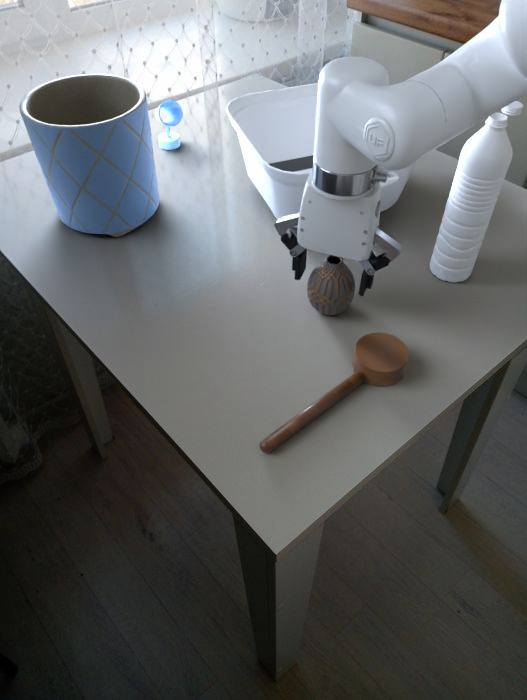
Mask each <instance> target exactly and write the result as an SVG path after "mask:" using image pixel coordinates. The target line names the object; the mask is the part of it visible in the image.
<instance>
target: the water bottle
mask: <svg viewBox="0 0 527 700" xmlns="http://www.w3.org/2000/svg"><path fill="white" fill-rule="evenodd" d="M523 108H524V104H523V103H522V102H520V101H518V100H516V101H514V102H513V103H511V104H509V105H507V106H506V107H504V108H502V109H501V110H500V111H501V112H496V113H494V114H492V115H490V116H489V117H487V118H486V119H485V121H484V122H485V125H484V126H482V127H481V128H479V130H478V131H477V132H475V133H474V134H473V135H472V136H471V137H469V138H468V139H467V140H466V142H465V143H464V145H463V146H462V148H461V150H460V153H459V158H458V163H457V166H456V170H455V172H454V177H453V181H452V183H451V187H450V191H449V194H448V195H449V196H448V198H447V200H446V203H445V208H444V209H445V210H444V212H443V215H442V219H441V223H440V224H439V225H440V226H439V229H438V231H439V232H438V234H437V236H436V242H435V244H434V247H433V252H432V254H431V257H430V261H429V270H430V272H431V274H432V275H434V276H435V277H436V278H437V279H439V280H441V281H443V282H445V281H446V282H448V283H458V282H460V283H462V282H464V281H466V280H468V279H469V277H471V275H472V273H473V269H474V267H475V263H476V260H477V258H478V255H479V252H480V249H481V247H482V244H483V240H484V238H485V235H486V232H487V230H488V227H489V225H490V221H491V219H492V216H493V213H494V210H495V207H496V204H497V201H498V198H499V195H500V193H501V190H502V187H503V185H504V181H505V179H506V176H507V173H508V170H509V168H510V166H511V163H512V161H513V160H512V159H513V154H514V153H513V152H514V151H513V147H512V143H511V140H510V138H509V135H508V133H507V129H506V128H507V127H508V125H509V124H508V120H509V119H508V117H509V116H519V115H521V113H522V111H523Z"/></svg>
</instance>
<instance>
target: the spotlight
mask: <svg viewBox="0 0 527 700" xmlns="http://www.w3.org/2000/svg"><path fill="white" fill-rule="evenodd" d="M161 109H163V110H165V111H166V112H167V118H166V119H165V120H163V119H162V117H161V113H160V111H161ZM183 114H184V112H183V108H182V106H181V105H180V103H179V102H177V101H176V100H174V99H170V98H169V99H165V100H163V101H162V102H161V103H160V104H159V106H158V107H157V108H156V109H155V113H154V115H155V119H156V120H157V122H158V123H159V122H160V124H163V125H165V132H162V133H160V134H159V135H158V137H157V140H158V146H159V148H160V149H161V150H165V151H171V150H176V149H178V148H180V146H181V145H182V144H181V136H180V134H179V133H178V132H174V131H171V128H174V127H177V126H178V125H179V124H180V123H181V122H182V120H183V116H184V115H183Z"/></svg>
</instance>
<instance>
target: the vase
mask: <svg viewBox="0 0 527 700" xmlns="http://www.w3.org/2000/svg"><path fill="white" fill-rule="evenodd" d="M355 293H356V279H355V275H354V273H353V271H352V270H351V268H350V267H349V266H348V265H347V264H346V263H345V261H344V258H342V257H338V256H333V255H329V254H328V255H327V256H326V257H325V258H324V260H323V261H321V262H320V263H319V264H317V265H316V266H315V268H313V269H312V270H311V273H310V275H309V277H308V280H307V286H306V294H307V298H308V301H309V303H310V305H311V307H312V308H313V309H314V310H315V311H317V312H318V313H319V314H323V315H324V316H325V315H326V316H335V315H339V314H341V313H343V312H344V311H346V310H347V309H348V308H349V306H350V305H351V304H352V302H353V300H354V297H355Z"/></svg>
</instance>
